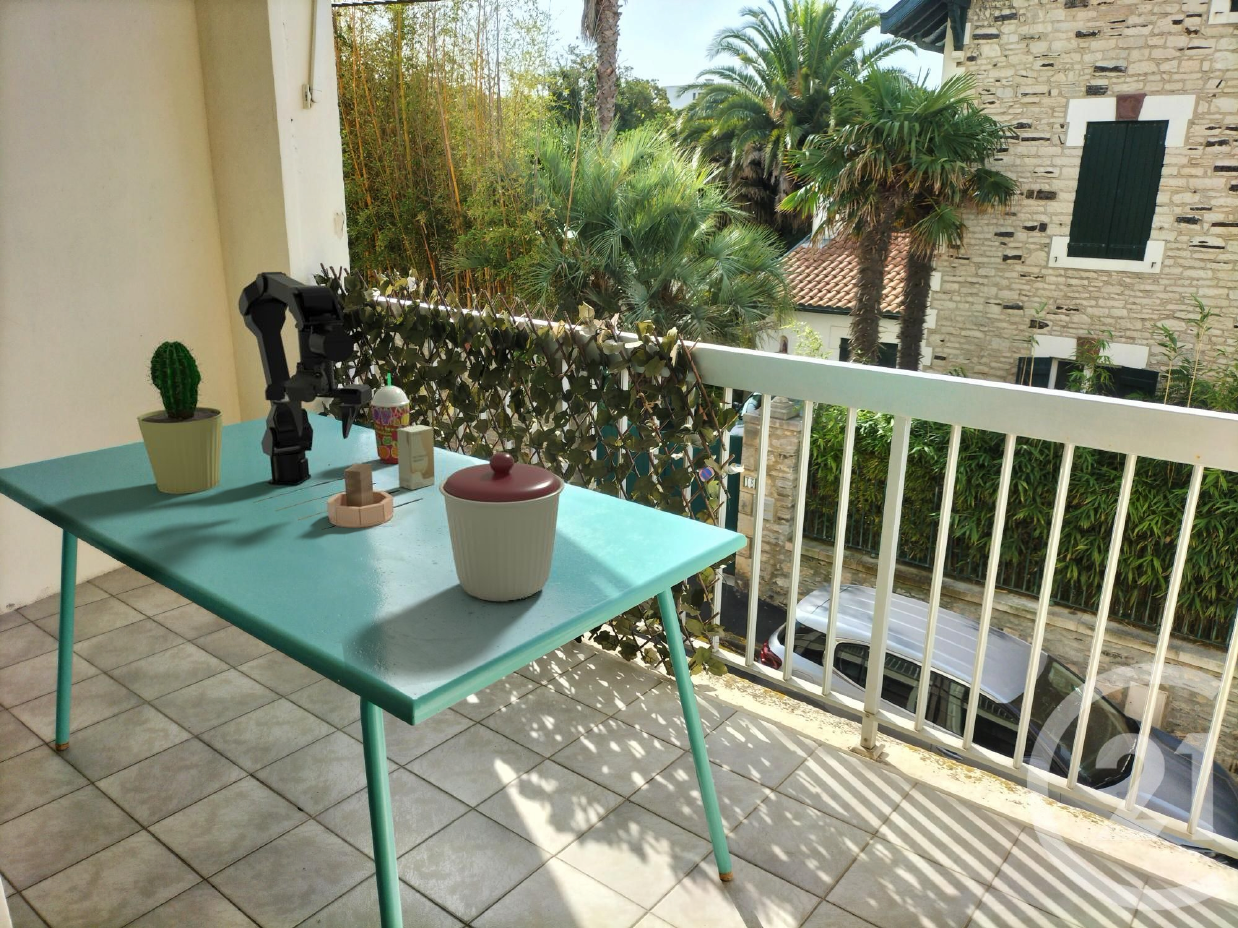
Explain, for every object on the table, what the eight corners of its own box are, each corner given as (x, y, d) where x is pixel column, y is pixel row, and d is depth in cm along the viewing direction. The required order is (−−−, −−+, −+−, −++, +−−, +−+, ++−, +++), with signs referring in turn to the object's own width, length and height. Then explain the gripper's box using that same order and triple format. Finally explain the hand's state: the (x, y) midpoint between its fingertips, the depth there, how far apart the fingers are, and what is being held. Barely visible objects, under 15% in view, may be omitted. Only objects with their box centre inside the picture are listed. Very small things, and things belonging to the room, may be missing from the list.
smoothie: (367, 463, 193) (361, 375, 188) (387, 454, 201) (382, 369, 195) (400, 467, 191) (395, 378, 185) (419, 457, 199) (415, 372, 193)
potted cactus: (245, 476, 182) (230, 334, 174) (204, 498, 167) (186, 344, 159) (176, 472, 183) (158, 331, 175) (129, 494, 168) (107, 341, 160)
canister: (434, 572, 135) (428, 442, 129) (545, 559, 141) (544, 434, 135) (455, 621, 118) (449, 475, 113) (579, 604, 125) (580, 464, 119)
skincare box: (412, 490, 174) (409, 432, 171) (398, 486, 177) (395, 429, 174) (436, 483, 179) (434, 426, 176) (422, 479, 182) (420, 423, 179)
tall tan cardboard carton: (347, 518, 156) (344, 470, 154) (358, 509, 161) (355, 463, 158) (363, 519, 156) (360, 471, 153) (374, 510, 161) (371, 464, 158)
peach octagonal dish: (318, 525, 154) (317, 506, 153) (345, 505, 165) (344, 488, 164) (378, 529, 152) (377, 510, 152) (401, 509, 163) (400, 491, 162)
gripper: (244, 359, 152) (253, 445, 156) (345, 364, 150) (350, 450, 154) (277, 351, 163) (284, 431, 167) (371, 354, 160) (375, 435, 165)
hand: (322, 437), depth 163 cm, fingers open, 9 cm apart
